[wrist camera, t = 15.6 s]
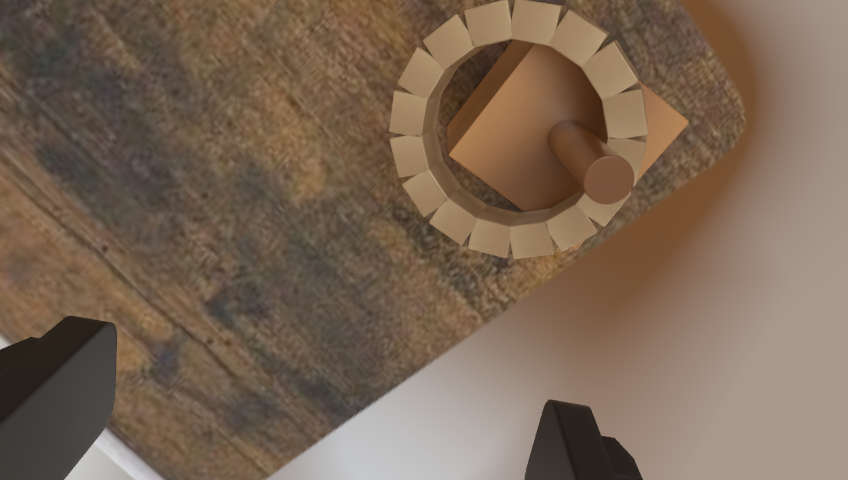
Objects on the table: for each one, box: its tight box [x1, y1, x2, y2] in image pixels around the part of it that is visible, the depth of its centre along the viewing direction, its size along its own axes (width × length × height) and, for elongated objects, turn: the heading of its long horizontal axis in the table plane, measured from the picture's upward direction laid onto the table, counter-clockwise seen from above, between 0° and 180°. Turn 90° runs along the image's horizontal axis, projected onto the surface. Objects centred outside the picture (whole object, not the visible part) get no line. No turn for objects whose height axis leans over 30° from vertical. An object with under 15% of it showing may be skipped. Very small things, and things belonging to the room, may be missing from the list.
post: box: [447, 40, 689, 250], centre depth 31 cm, size 8×8×16 cm
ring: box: [389, 0, 648, 259], centre depth 30 cm, size 11×11×2 cm
